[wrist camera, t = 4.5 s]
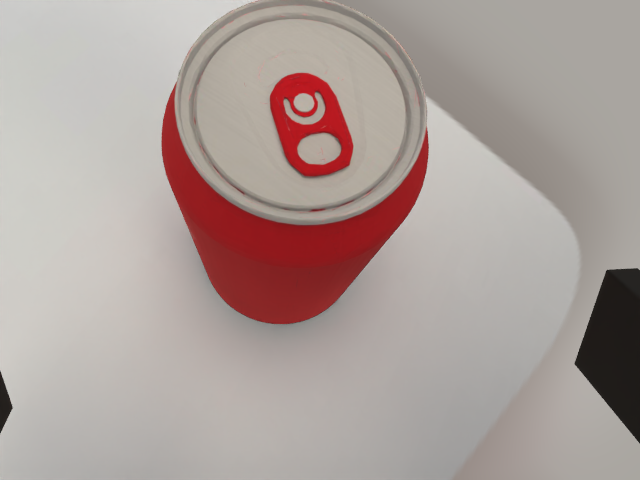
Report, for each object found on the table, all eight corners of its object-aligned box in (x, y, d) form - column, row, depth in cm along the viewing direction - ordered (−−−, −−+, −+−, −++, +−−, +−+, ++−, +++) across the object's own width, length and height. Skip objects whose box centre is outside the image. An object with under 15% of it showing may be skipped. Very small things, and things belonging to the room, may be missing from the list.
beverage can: (327, 169, 23) (395, -47, 12) (372, 301, 22) (500, 200, 11) (187, 203, 22) (116, 0, 11) (225, 346, 21) (189, 286, 9)
